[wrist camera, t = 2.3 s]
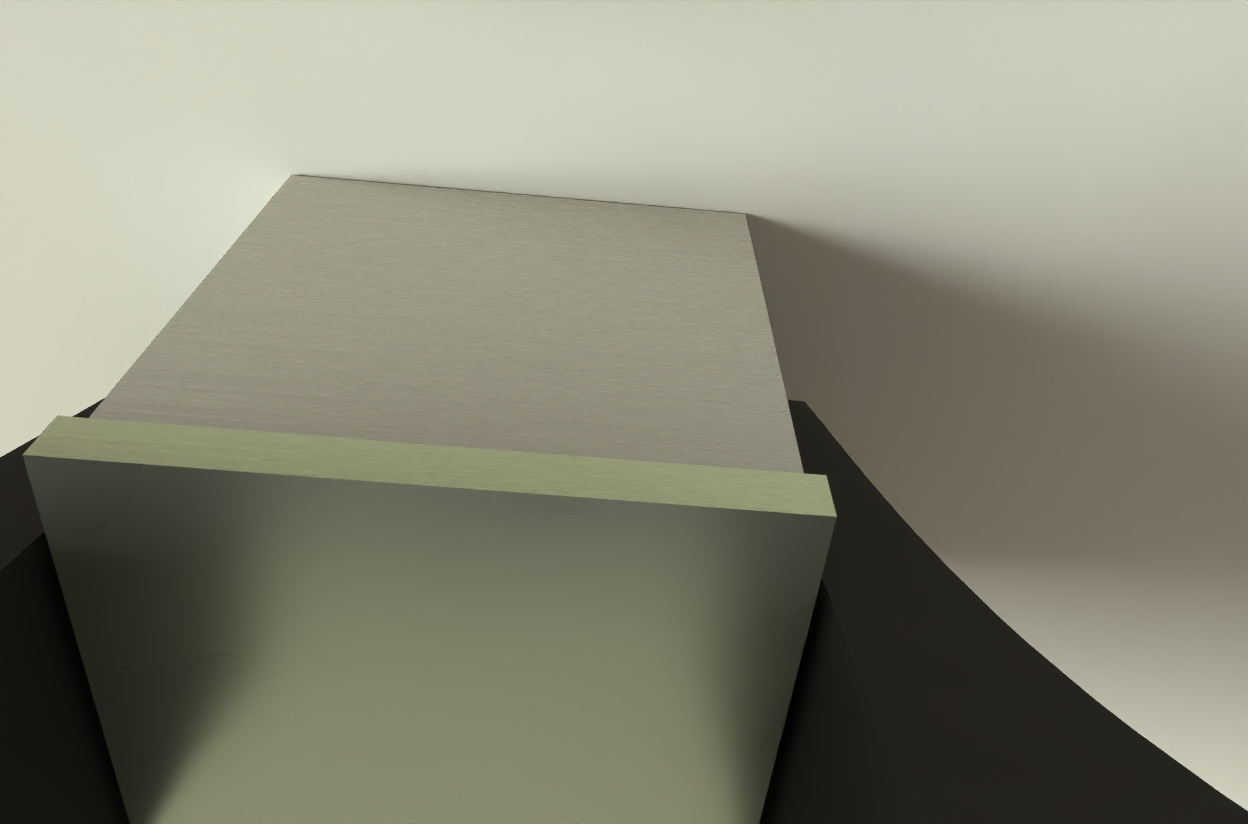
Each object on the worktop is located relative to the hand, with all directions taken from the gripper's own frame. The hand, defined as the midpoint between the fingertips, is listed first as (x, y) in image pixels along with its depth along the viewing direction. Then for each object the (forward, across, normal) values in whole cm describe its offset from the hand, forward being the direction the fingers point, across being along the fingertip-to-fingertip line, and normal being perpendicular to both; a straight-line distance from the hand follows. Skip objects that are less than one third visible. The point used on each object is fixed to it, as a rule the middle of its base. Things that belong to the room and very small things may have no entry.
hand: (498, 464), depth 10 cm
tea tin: (+1, 0, 0) cm, 1 cm away
